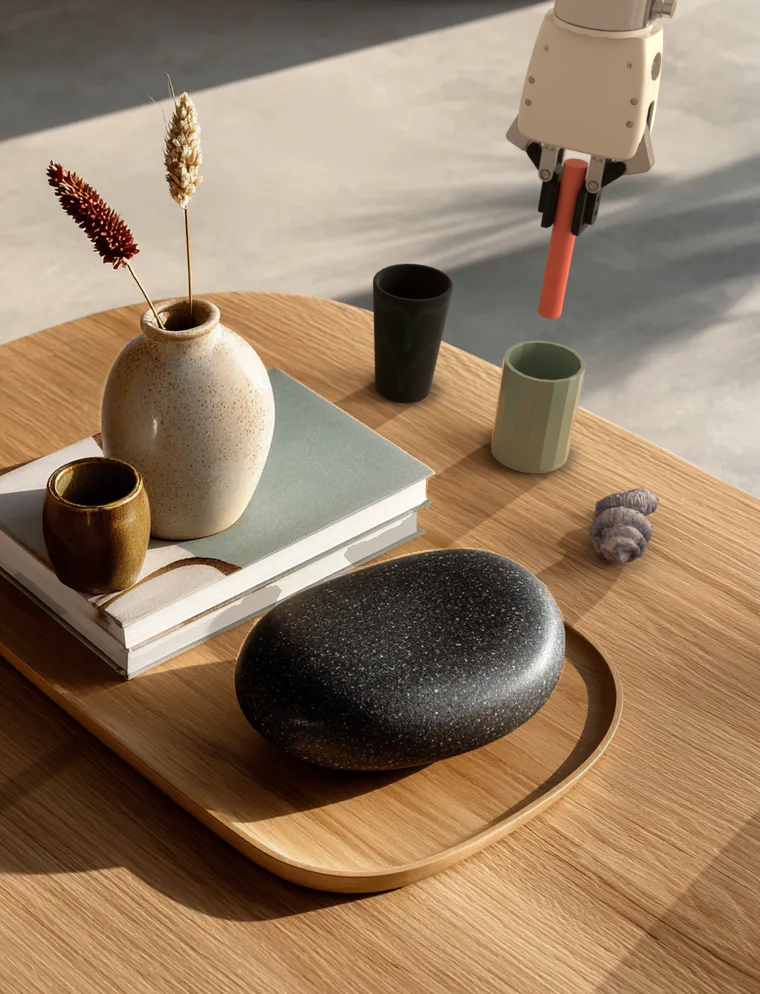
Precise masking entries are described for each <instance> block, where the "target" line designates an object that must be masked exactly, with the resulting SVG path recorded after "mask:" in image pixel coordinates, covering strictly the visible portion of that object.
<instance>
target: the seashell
mask: <svg viewBox="0 0 760 994" xmlns="http://www.w3.org/2000/svg"><path fill="white" fill-rule="evenodd" d="M655 495H656V494H655V492H654V491H652V490H649V489H648V488H643V487H641V488H640V487H638V488H633V489H629V490H627V491H623V492H622V491H619V492H616V493H611V494H609V495H607V496H605V497H603V498H601V499H599V500H596V502H595V506H594V507H595V508H594V517H595V518H594V519H593V520H592V522H591V524H590V527H589V530H588V531H589V535H588V536H589V538H590V540H591V542H592V545H593V548H594V549H595V551H596V552H597V553H599V554H600V553H602V556H603V557H604V558H605V559H606V560H607V561H609V563H613V564H620V565H623V564H624V563H631V562H634V561H635V560H637V559H638V558H641V557H642V556H643V555H644V553H645V551H646V548H647V544H648V543H649V541H650V540H651V539H652V537H653V524H651V522H650V521H649V519H648V518H647V516H649V515H651V514H653V513H655V512H656V510H657V507H658V505H659V498H658V497H656V496H655Z"/></svg>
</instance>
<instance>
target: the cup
mask: <svg viewBox="0 0 760 994" xmlns="http://www.w3.org/2000/svg"><path fill="white" fill-rule="evenodd" d="M453 290H454V283H453V281H452V278H451V277H450V276H449V275H448V274H446V273H445V272H444V271H442V270H440V269H439V268H436V267H433V266H430V265H426V264H420V263H398V264H393V265H389V266H386V267H383V268H381V269H380V270H378V271H377V272H376V273H375V274H374V276H373V279H372V302H373V303H372V306H373V309H372V310H373V347H374V348H373V351H374V352H373V353H374V355H373V357H374V388H375V391H376V393H377V394H378V395H379V396H381V397H382V398H384V399H386V400H388V401H390V402H395V403H403V404H410V403H416V402H420V401H422V400H424V399H426V398H427V397H428V396H429V394H430V393H431V389H432V388H431V387H432V384H433V379H434V375H435V371H436V366H437V361H438V358H439V353H440V352H439V351H440V349H441V348H440V347H441V343H442V340H443V335H444V330H445V325H446V321H447V318H448V314H449V313H448V311H449V308H450V303H451V299H452V295H453Z"/></svg>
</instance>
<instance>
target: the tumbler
mask: <svg viewBox="0 0 760 994" xmlns="http://www.w3.org/2000/svg"><path fill="white" fill-rule="evenodd" d="M585 372H586V363H585V359H584V358H583V357H582V356H581V355H580V354H579V352H578V351H576V350H574V349H572V348H570V347H569V346H567V345H565V344H561V343H558V342H553V341H549V340H537V339H536V340H527V341H526V340H525V341H519V342H518V343H515V344H513V345H511V346H509V347H508V349H506V351H505V352H504V353H503V359H502V366H501V371H500V379H499V384H498V385H499V386H498V393H497V398H496V399H497V400H496V406H495V413H494V418H493V426H492V431H491V438H490V441H491V443H490V451H491V454H492V456H493V458H494V459H495V460H496V461H497V462H498V463H499V464H501V465H502V466H504V467H506V468H509V469H511V470H514V471H516V472H520V473H525V474H535V475H536V474H546V473H547V474H548V473H552V472H555V471H556V470H559V469H560V468H562V467H563V466H564V465H565V463H566V462H567V460H568V456H569V454H570V450H571V444H572V439H573V434H574V429H575V424H576V420H577V419H576V418H577V415H578V414H577V413H578V408H579V402H580V397H581V393H582V389H583V382H584V379H585V378H584V377H585Z"/></svg>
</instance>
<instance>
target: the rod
mask: <svg viewBox="0 0 760 994" xmlns="http://www.w3.org/2000/svg"><path fill="white" fill-rule="evenodd" d="M589 164H590V163H589V162H588V161H586V160H584V159H581V158H576V157H575V158H573V157H572V158H567V159H564V164H563V170H562V176H561V182H560V188H559V193H558V199H557V205H556V211H555V216H554V222H553V225H552V226H551V234H550V239H549V245H548V251H547V256H546V262H545V268H544V273H543V279H542V286H541V290H540V291H541V292H540V296H539V302H538V307H537V308H538V309H537V313H538V315H539V316H540V317H542V318H545V319H549V320H553V319H554V320H555V319H557V318H560V317H561V315H562V309H563V305H564V300H565V294H566V289H567V283H568V277H569V274H570V273H569V272H570V268H571V261H572V255H573V253H574V252H573V251H574V246H575V240H576V236H575V235H572V233H571V227H572V221H573V216H574V210H575V205H576V199H577V194H578V192H579V190H580V189H581V188H582V187H583V186H584V182H585V181H586V179H587V175H588V169H589Z"/></svg>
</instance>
